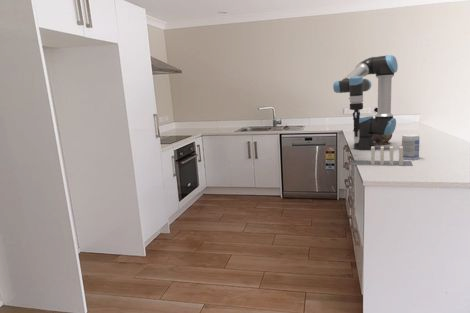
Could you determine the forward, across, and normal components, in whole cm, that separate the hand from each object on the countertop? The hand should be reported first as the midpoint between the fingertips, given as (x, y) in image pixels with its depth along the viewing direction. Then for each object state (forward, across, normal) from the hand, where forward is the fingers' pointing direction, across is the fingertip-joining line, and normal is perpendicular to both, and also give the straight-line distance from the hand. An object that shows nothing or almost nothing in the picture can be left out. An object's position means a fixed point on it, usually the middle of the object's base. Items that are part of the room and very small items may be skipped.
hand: (356, 140), depth 212 cm
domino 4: (+13, +6, +24) cm, 28 cm away
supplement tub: (+14, -11, +30) cm, 35 cm away
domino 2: (+13, +6, +14) cm, 20 cm away
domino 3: (+13, +6, +19) cm, 24 cm away
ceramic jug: (+15, -66, +14) cm, 69 cm away
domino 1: (+13, +6, +9) cm, 17 cm away
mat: (+13, +4, +13) cm, 19 cm away
